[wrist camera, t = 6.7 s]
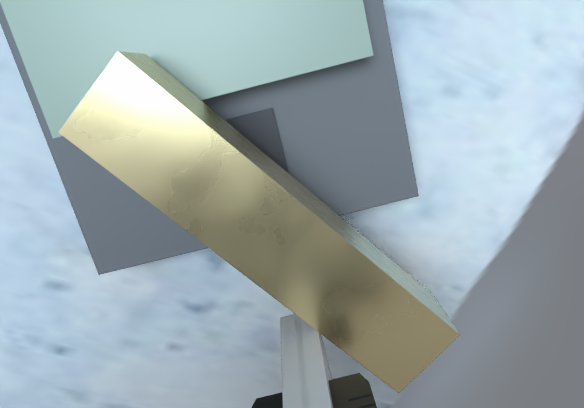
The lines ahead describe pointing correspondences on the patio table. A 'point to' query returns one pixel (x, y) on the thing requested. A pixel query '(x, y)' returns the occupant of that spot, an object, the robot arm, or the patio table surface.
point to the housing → (270, 140)
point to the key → (257, 217)
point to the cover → (180, 42)
